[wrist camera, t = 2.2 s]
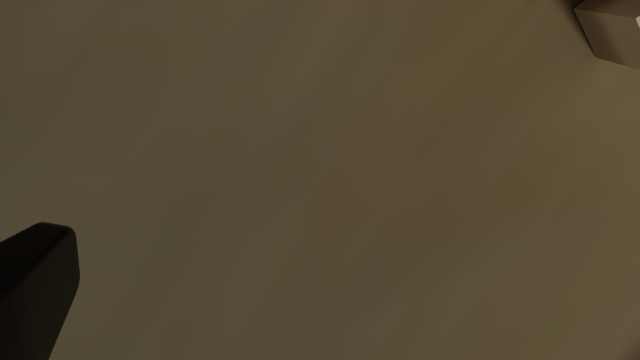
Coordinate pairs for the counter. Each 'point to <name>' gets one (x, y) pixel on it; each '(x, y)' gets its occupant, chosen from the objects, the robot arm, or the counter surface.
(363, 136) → the counter surface
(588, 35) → the tan flat block
